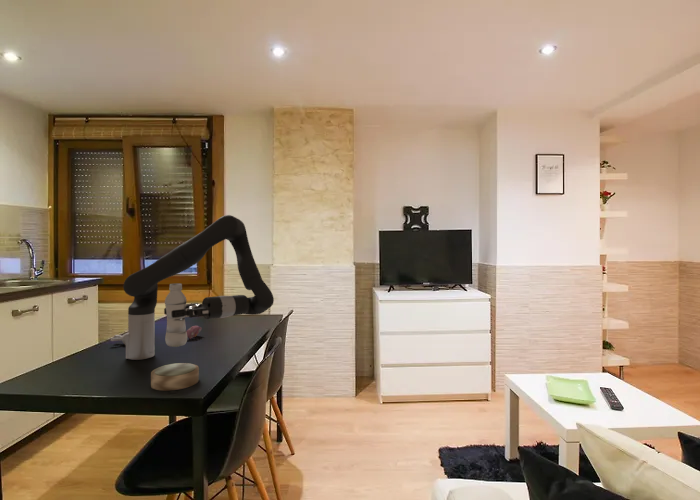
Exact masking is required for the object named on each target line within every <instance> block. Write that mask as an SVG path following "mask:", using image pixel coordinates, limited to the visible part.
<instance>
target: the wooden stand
mask: <svg viewBox="0 0 700 500" xmlns="http://www.w3.org/2000/svg"><path fill="white" fill-rule="evenodd" d="M199 370H200V368H199V366H198V365H197V364H193V363H190V362H189V363H188V362H177V363H176V362H175V363H170V364H165V365H162V366H159V367H157V368H155V369H153V370H152V371H150V388H151V389H153V390H156V391H166V392H167V391H176V390H182V389H186V388H189V387H193V386H194V385H196V384H198V382H199V380H200V373H199V372H200V371H199Z"/></svg>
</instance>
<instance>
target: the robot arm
mask: <svg viewBox="0 0 700 500" xmlns="http://www.w3.org/2000/svg"><path fill="white" fill-rule="evenodd" d="M225 240H227V241H229V243H230V245H231V246H232V248H233V250H234V252H235V257H236V261H237V262H236V263H237V269H238V270H237V271H238V273H239V276H240V279H241V281H242V283H243V286H244V288H245V289H246V290H248V291H252V293H253V295H254V296H251V297H248V296H246V295H244V294H234V295H218V296H207V297H204V298H203V299H202V302H201V303H198V302H194V303H193V302H192V303H186V309H185V310H184V309H181V310H173V311H172V312H171V316H172V317H173V318H176V317H184V316H185V318H198V317H203V318H204V319H205V320H214V319H215V320H217V319H222V318H223V319H224V318H228V317H233V316H240V315H253V316H254V315H260V314H262V313H264V312H266V311H267V310H269V309H271V307H272V306H273V305H274V302H275V300H274V295H273V293H272V291H271V289H270V288H269V287H268V285H267V283H265V281H264V280H263V278H262V276H261V273H260V271H259V268H258V266H257V263H256V261H255V259H254V255H253V253H252V250H251V245H250V241H249V238H248V234H247V230H246V226H245V224H244V222H243V220H240V219H239V218H238V217H235V216H234V215H230V214H226V215H225V214H224V215H223V216H220V217H219V218H217V219H216V220H215V221H214V222H212V223H211V224H210V225H209V226H207V227H206V228H205V229H203V230H202V231H200V232H199V233H198V234H196V235H194V236H192V237H191V238H189V239H188V240H187V241H184V242H183V243H181V244H180V245H178V246H176V247H175V248H173V249H172V250H170V251H169V252H168V253H166V254H164V255H162V257H160V258H158V259H157V260H156V261H154V262H152V264H150V265H148V266H146V267H144V268H142V269H139V270H138V271H136V272H134V273H132V274H129V275H128V276H127V277H126V279H125V280H124V281H123V292H124V293H125V294H126V295H128V296H129V297H133V301H132V302H131V304H130V305H129V307H128V309H127V314H128V315H127V319H128V320H127V322H128V323H127V325H128V327H127V332H126V333H127V334H126V333H125V334H126V345H125V359H128V360H133V361H134V360H136V361H138V360H146V359H150V358H153V357H154V356H155V355H156V354H155V351H156V350H155V344H156V343H155V339H156V338H155V333H156V332H155V330H156V329H155V325H156V323H155V320H156V319H155V316H156V315H155V312H156V311H155V310H156V309H155V308H156V306H157V304H158V287H159V285H158V283H160V282H161V281H163V280H167V278H170V277H173V276H175V275H178V274H180V273H182V272H185V271H187V270H188V269H190V268H191V267H193V266H194V265H196V264H198V263H199V262H201V260H202V259H203V258H204V256H205V255H206V254H207V253H208V251H209V250H210V249H211V248H213V247H214V246H215V245H217V244H218V243H221V242H222V241H223V242H224V241H225ZM163 313H164V315H166V316H167V313H166V307H164V309H163Z"/></svg>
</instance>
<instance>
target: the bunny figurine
mask: <svg viewBox="0 0 700 500" xmlns="http://www.w3.org/2000/svg"><path fill="white" fill-rule="evenodd" d="M127 333H128V332H126V333H123V335H121V334H115V335H114V337H110V342H119V341H121V342H122V343H123V344H124V346H126V334H127Z"/></svg>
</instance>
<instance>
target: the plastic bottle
mask: <svg viewBox="0 0 700 500" xmlns="http://www.w3.org/2000/svg"><path fill="white" fill-rule="evenodd" d="M168 290H169V292H168V294H167V295H166V297H165V299H164V305H165V307H164V308H166V313H167V315H166V331H165V337H164V338H165V339H164V340H165V345H167V346H168V347H170V348H172V347H173V348H178V347H181V346H185V345H186V343H187V341H188V338H187V332H186V331H187V327H186V317H185V316H184V317H176V318H173V317H172V316H171V312H172V311H173V310H181V309H184V310H185V309H186V304H187V302H188V301H187V297H186V296H185V293H183V292H182V290H183V284H182V283H170V284H169V289H168Z"/></svg>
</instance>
